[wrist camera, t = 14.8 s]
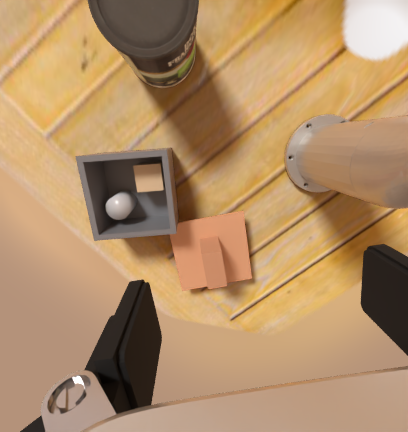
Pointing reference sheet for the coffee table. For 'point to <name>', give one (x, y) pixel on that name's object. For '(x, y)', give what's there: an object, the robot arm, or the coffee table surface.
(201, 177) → the coffee table surface
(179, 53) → the coffee can
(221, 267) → the lid
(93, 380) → the robot arm
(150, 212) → the storage box
